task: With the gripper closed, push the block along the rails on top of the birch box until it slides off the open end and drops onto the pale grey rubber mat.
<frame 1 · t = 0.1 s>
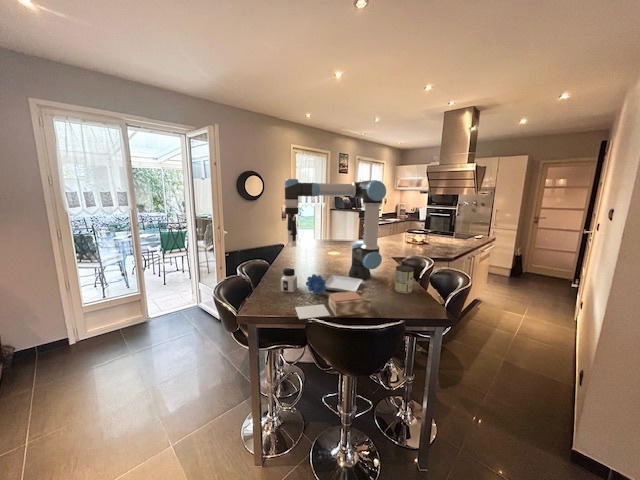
hand: (291, 243, 151), 28 cm above the counter, fingers open, 13 cm apart
mat: (312, 311, 129), on the counter
container: (289, 289, 157), on the counter
salad plate: (342, 287, 162), on the counter
grapes: (316, 294, 150), on the counter
coffee can: (402, 290, 159), on the counter
box: (349, 308, 133), on the counter
block: (345, 299, 132), point 5 cm above the counter, touching box
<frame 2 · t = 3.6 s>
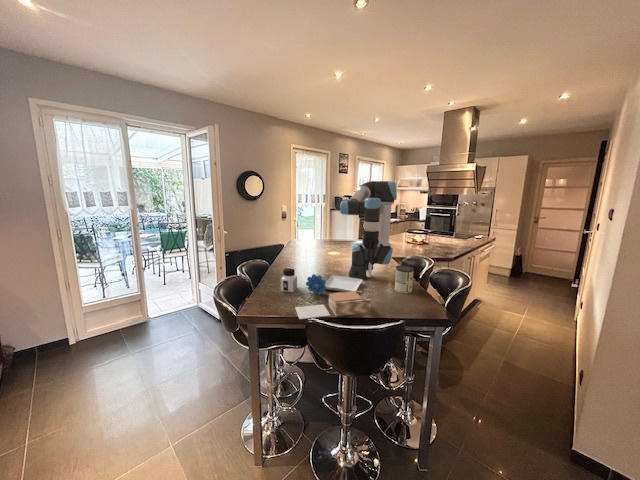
hand: (368, 276, 132), 17 cm above the counter, fingers closed
nothing on the counter moved.
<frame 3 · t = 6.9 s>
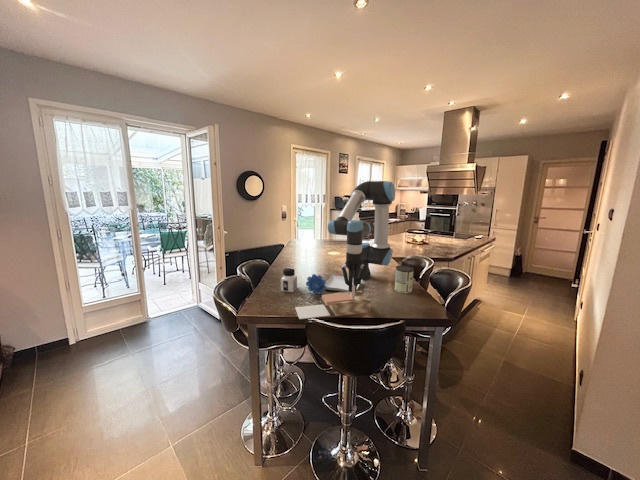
hand: (352, 297, 132), 6 cm above the counter, fingers closed
block: (337, 300, 130), point 5 cm above the counter, touching box, gripper
everything else where it was.
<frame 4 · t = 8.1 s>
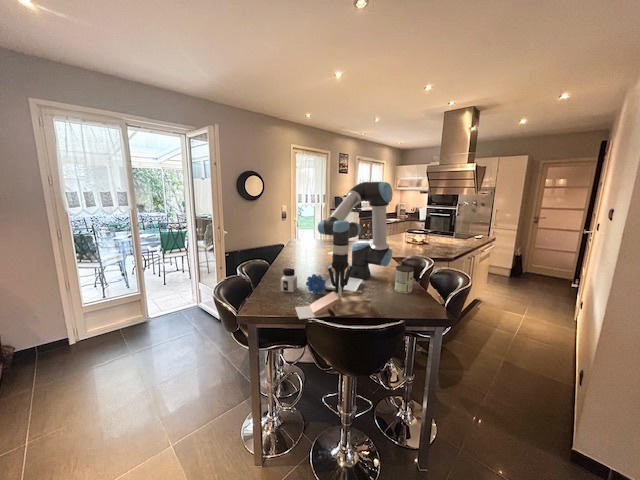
hand: (338, 298, 130), 6 cm above the counter, fingers closed
block: (325, 304, 129), point 4 cm above the counter, tilted 26°, touching gripper
everything else where it was.
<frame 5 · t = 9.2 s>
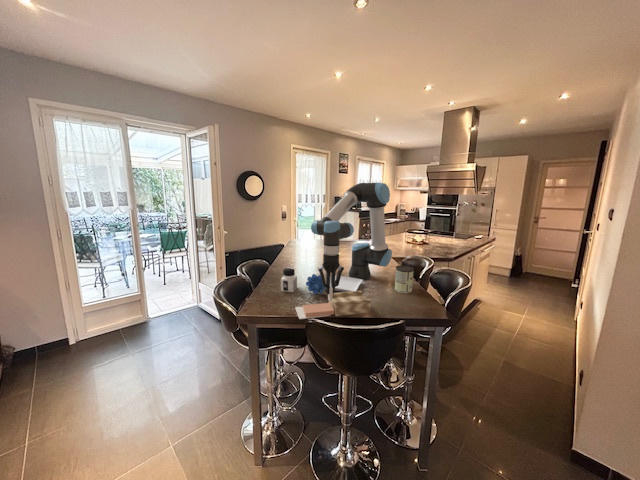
hand: (330, 299, 129), 6 cm above the counter, fingers closed
block: (318, 311, 129), resting on mat
everything else where it was.
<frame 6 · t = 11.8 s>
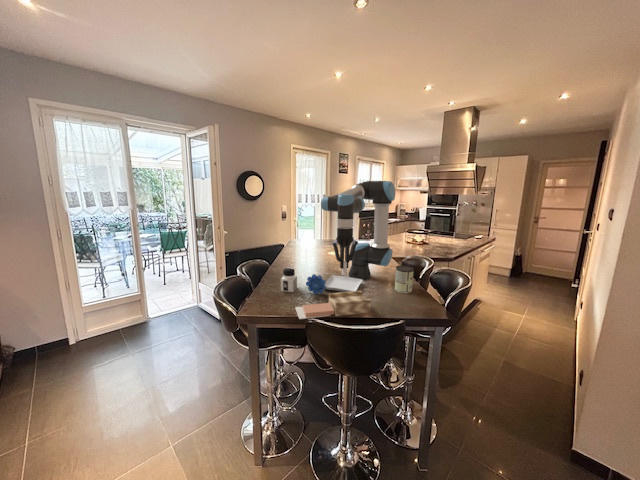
hand: (344, 274, 129), 18 cm above the counter, fingers closed
nothing on the counter moved.
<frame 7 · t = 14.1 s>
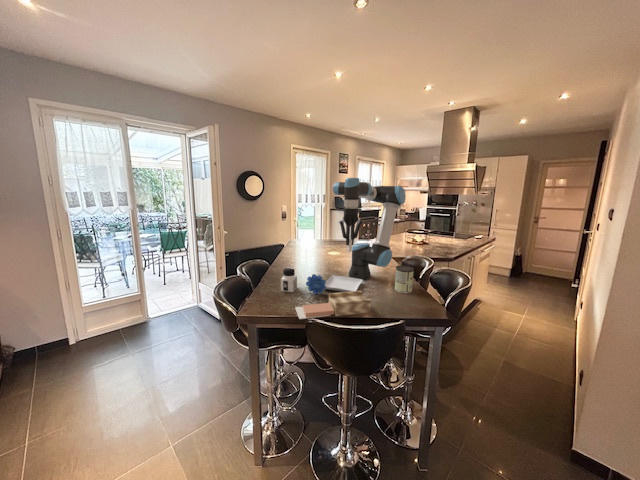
hand: (349, 250, 143), 26 cm above the counter, fingers closed
nothing on the counter moved.
at the end: block inside the target area (5.8 cm from its centre), resting on mat; block moved 15.0 cm from its start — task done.
